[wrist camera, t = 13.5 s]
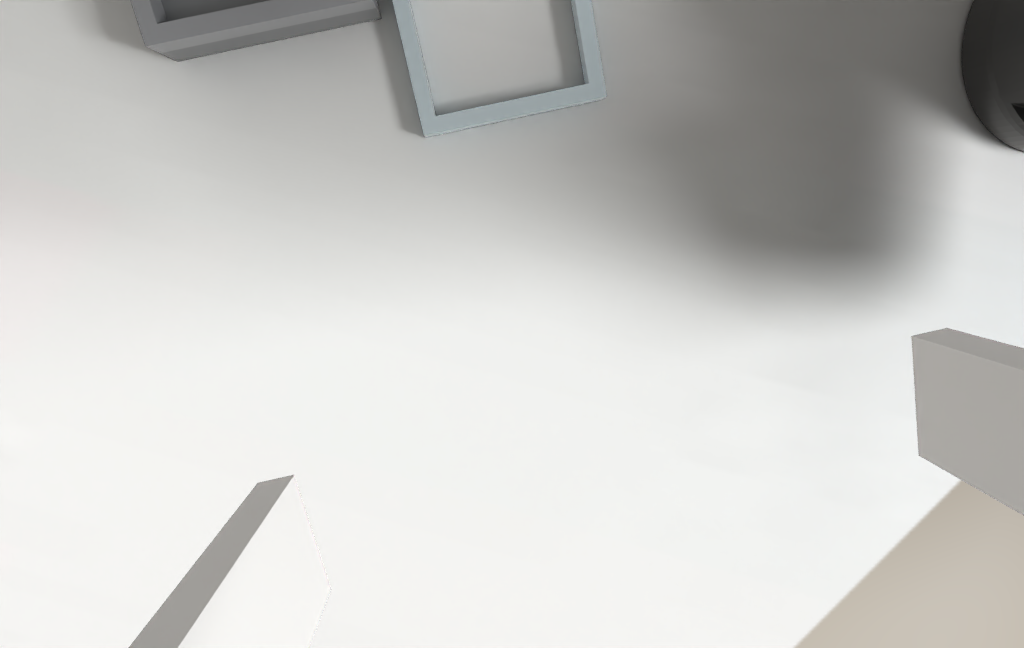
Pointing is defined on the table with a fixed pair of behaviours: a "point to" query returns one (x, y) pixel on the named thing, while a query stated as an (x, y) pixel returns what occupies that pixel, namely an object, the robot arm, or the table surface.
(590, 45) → the tray frame
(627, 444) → the table surface
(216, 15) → the two-section gray organizer
